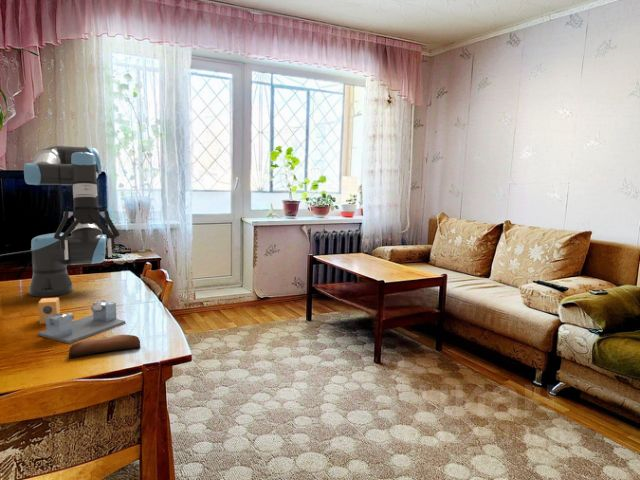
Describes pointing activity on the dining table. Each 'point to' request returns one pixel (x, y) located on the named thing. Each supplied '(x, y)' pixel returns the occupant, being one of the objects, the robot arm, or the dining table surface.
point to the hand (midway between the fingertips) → (88, 258)
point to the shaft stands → (62, 323)
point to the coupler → (48, 308)
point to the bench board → (85, 329)
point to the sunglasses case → (103, 345)
